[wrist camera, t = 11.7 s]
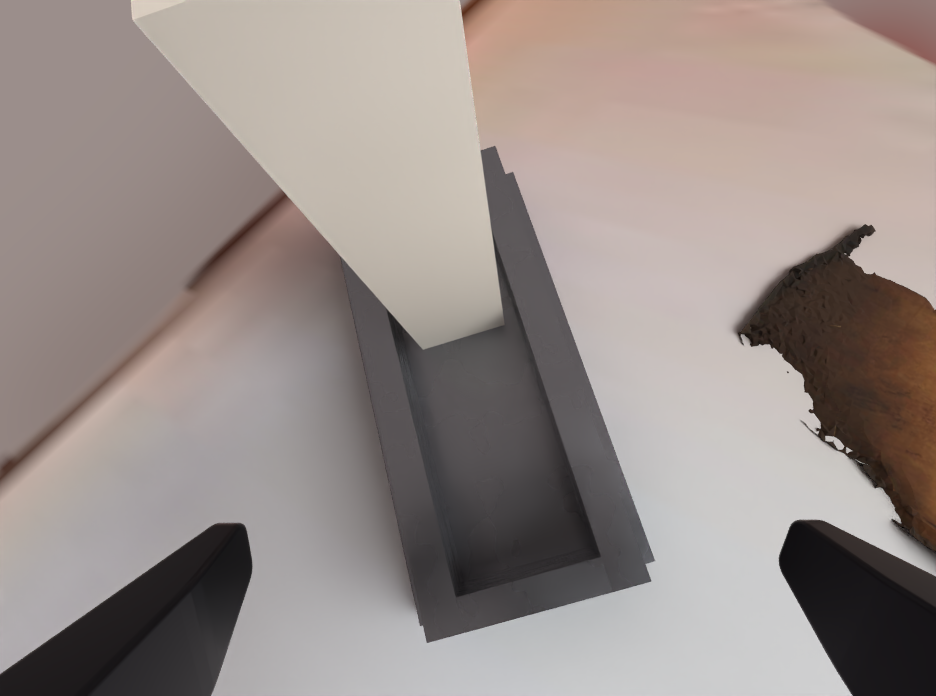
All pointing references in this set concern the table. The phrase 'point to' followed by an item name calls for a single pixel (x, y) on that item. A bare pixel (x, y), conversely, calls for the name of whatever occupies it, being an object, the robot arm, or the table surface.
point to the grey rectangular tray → (499, 448)
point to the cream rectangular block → (357, 137)
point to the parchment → (864, 371)
